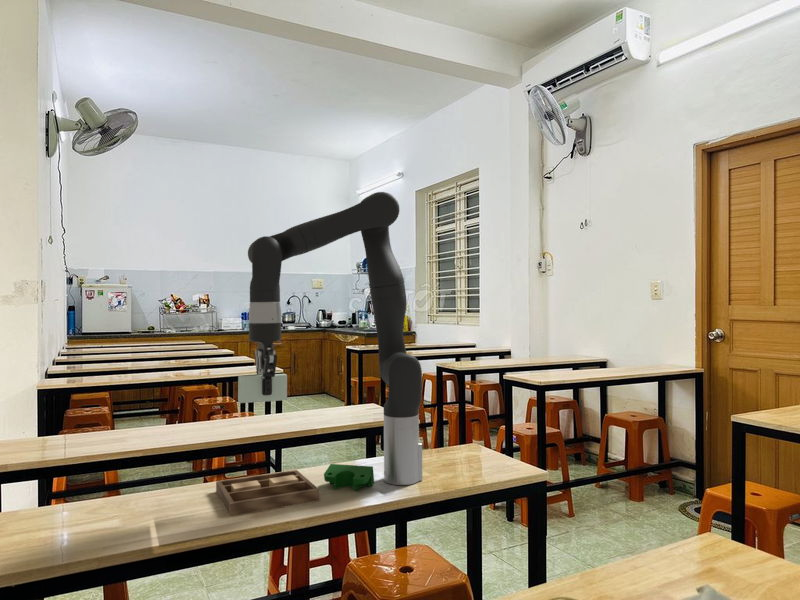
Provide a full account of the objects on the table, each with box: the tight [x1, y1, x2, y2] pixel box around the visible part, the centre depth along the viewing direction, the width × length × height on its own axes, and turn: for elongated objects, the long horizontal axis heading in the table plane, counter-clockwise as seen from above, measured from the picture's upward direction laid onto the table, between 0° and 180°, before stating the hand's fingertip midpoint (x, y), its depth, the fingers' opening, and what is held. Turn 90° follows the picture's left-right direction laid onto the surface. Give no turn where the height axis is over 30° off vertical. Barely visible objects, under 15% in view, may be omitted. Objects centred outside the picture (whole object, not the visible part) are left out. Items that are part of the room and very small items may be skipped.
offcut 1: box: [231, 480, 261, 492], centre depth 131 cm, size 6×4×3 cm, turn 117°
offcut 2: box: [269, 475, 298, 486], centre depth 135 cm, size 6×4×3 cm, turn 117°
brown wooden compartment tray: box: [215, 469, 320, 517], centre depth 132 cm, size 20×18×4 cm
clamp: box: [323, 463, 375, 492], centre depth 138 cm, size 12×6×9 cm, turn 71°
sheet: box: [237, 373, 288, 404], centre depth 132 cm, size 6×2×11 cm
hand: (265, 393), depth 132 cm, fingers closed on sheet, 2 cm apart
